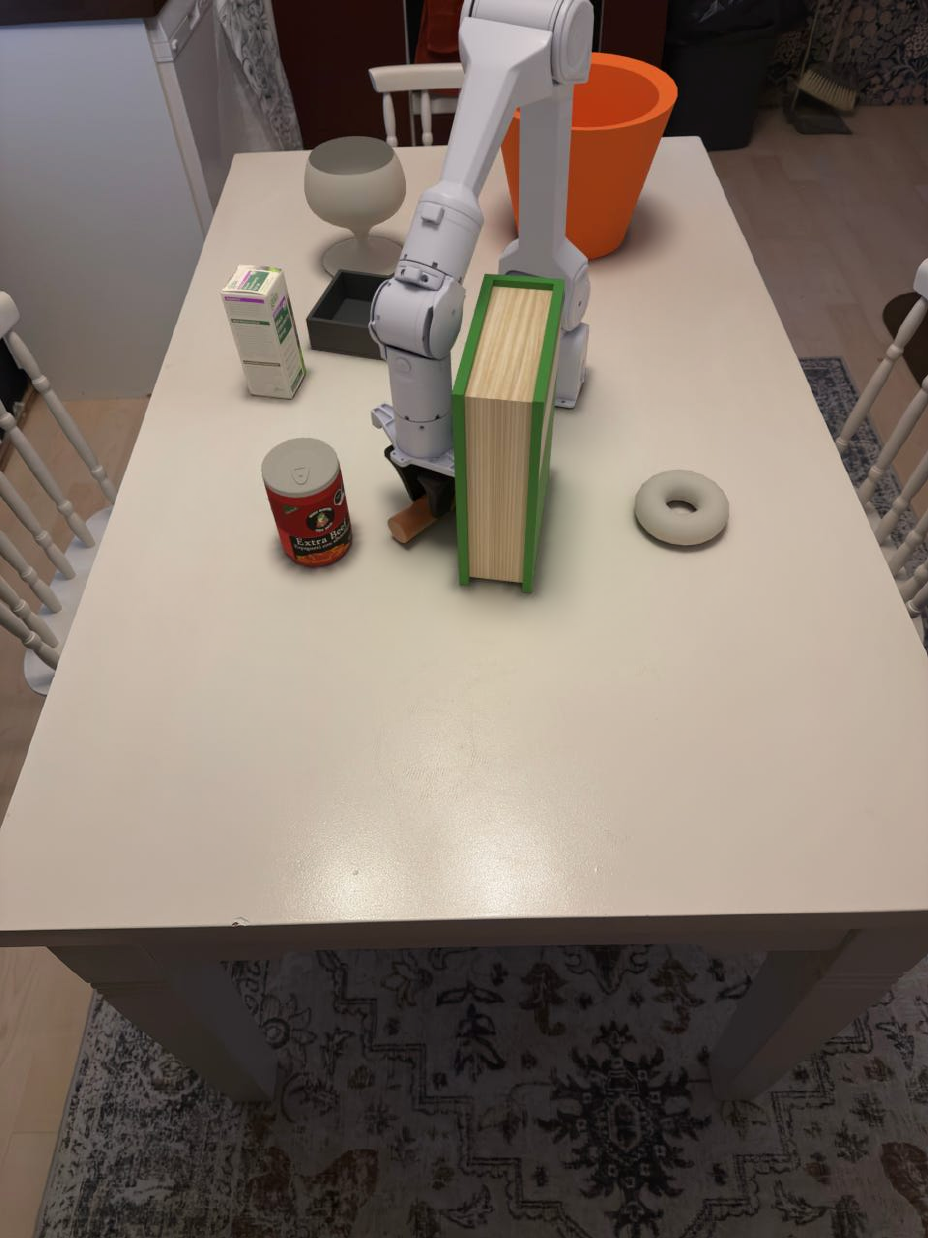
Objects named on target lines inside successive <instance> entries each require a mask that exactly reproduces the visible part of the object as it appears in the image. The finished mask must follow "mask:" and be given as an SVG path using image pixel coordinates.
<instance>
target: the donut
mask: <svg viewBox="0 0 928 1238" xmlns="http://www.w3.org/2000/svg"><path fill="white" fill-rule="evenodd" d="M673 501H681V502H682V501H683V502H686V503H688V504H690V505H692V506H693V507H694V508H695V509H696V510H695V511H693V512H689V513H683V512H678V511H676V510H673V509H672V508H670V507H669V506H668V505H667V503H670V502H673ZM634 512H635V515H636V518H637V521H638V523H639V524H640V525H641V526H642V528H644V530H645V531H646V532H647V533H648V534H650V536H653V537H654V538H655V539H657V540H660V541H662V542H664V543H668V544H671V545H677V546H692V545H700V544H702V543H705V542H707V541H710V540H712V539H714V538H715V537H716V536H717V535H718V534H719V533H720V532H722V531H723V530H724V528H725V527H726V524H727V521H728V520H729V518H730V502H729V500H728V498H727V495H726V493H725V491H724V489H722V487H721V486H720V485H719V484H718V483H717V482H716V481H715V480H713V479H711V478H709V477H707V475H704V474H703V473H700V472H696V471H692V470H688V469H686V470H685V469H671V470H664V471H661V472H659V473H656V474H653V475H652V476H651V477H649V478H647V480H645V481H644V482H643V483H641V485H640V487H639V489H638V490H637V492H636V494H635V497H634Z"/></svg>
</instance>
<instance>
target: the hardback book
mask: <svg viewBox="0 0 928 1238" xmlns="http://www.w3.org/2000/svg"><path fill="white" fill-rule="evenodd" d="M564 285H565V279H554V278H540V277H526V276H512V275H498V273H496V274H495V273H484V275H483V279H482V282H481V286H480V290H479V293H478V296H477V301H476V304H475V306H474V307H475V308H474V311H473V315H472V317H471V322H470V325H469V329H468V332H467V335H466V336H467V337H466V339H465V344H464V347H463V351H462V355H461V357H460V362H459V365H458V369H457V372H456V377H455V379H454V384H453V386H452V418H453V443H454V467H455V492H456V506H455V512H456V514H455V515H456V535H457V536H456V537H457V539H456V540H457V541H456V542H457V562H458V563H457V564H458V585H459V586H467V587H468V586H469V584H470V579H471V578H477V579H478V578H479V579H484V580H485V579H486V580H493V581H494V580H495V581H504V582H513V583H520V584H521V583H522V586H521V587H522V588H521V592H522V593H527V594H532V590H533V589H532V588H533V582H534V577H535V576H534V575H535V570H536V563H537V556H538V550H539V543H540V536H541V529H542V524H543V518H544V517H543V516H544V510H545V503H546V498H547V491H548V483H549V477H550V467H551V456H552V455H551V454H552V443H553V434H554V433H553V431H554V419H555V407H556V406H555V396H556V383H557V371H558V359H559V346H560V334H561V322H562V309H563V297H564Z"/></svg>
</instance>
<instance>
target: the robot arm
mask: <svg viewBox="0 0 928 1238" xmlns="http://www.w3.org/2000/svg"><path fill="white" fill-rule="evenodd" d="M594 21H595V14H594V5H593V4H592V2H591V1H590V0H464V1H463V4H462V8H461V12H460V19H459V28H458V50H459V51H458V53H459V60H460V64H461V68H462V71H463V74H464V77H463V78H464V79H463V82H462V86H461V90H460V93H459V94H460V95H459V98H458V102H457V106H456V110H455V114H454V119H453V123H452V127H451V131H450V135H449V139H448V142H447V146H446V151H445V154H444V159H443V162H442V163H443V164H442V167H441V171H440V175H439V179H438V182H437V183H436V184H435V185H432V186H430V187H429V188H427V189H425V190H424V191H422V192H421V193H420V195H419V198H418V200H417V204H416V206H415V210H414V213H413V216H412V219H411V223H410V225H409V229H408V232H407V234H406V235H407V236H406V238H405V240H404V244H403V247H402V249H403V250H402V253H401V256H400V259H399V262H398V265H397V268H396V271H395V272H394V273H393V276H394V277H393V278H392V279H389V280H386V281H384V282H383V283H382V284H381V285H380V286H379V288H378V289H377V291H376V293H375V296H374V298H373V302H372V306H371V315H370V323H369V325H368V326H369V331H370V334H371V337H372V338H373V340H374V341H375V342H377V343H378V344H379V347H380V353H381V358H383V359H384V360H383V361H385V362H386V363H387V369H388V376H389V377H388V378H389V385H390V395H391V404H390V403H388V402H387V401H384V402H382V403H380V404H379V405H377V406H375V407H373V408H372V409H371V410H370V417H371V422H372V426H373V427H374V428H376V429H378V430H381V429H382V430H383V431H384V433H385V435H386V437H387V438H388V440H389V441H390V443H391V444H390V445H388V446H386V448H385V449H384V451H383V456H384V457H385V459H387V461H389V463H390V464H391V465H392V467H393V468H394V469H395V471H396V473H397V474H398V475H399V478H400V480H401V481H402V483H403V486H404V488H405V491H406V492H407V494H408V497H409V499H410V501H412V503H413V502H414V501H416V500H417V499H418V498H420V497H421V496H423V495H424V494H426V493H427V496H428V500H429V505H430V511H431V513H432V515H433V517H434V518H436V519H437V520H439V519H441V518H442V517H444V516H445V515H446V514H448V513H449V512H450V511H451V510H452V509H451V506H452V502H453V499H454V496H455V493H456V492H455V467H454V443H453V418H452V390H453V375H452V350H453V348H454V346H455V344H456V342H457V341H458V337H459V336H460V335H459V334H460V332H461V329H462V324H463V317H464V303H465V299H466V297H467V296H466V294H467V289H466V288H465V287H464V286H463V284H464V281H465V278H466V275H467V273H468V270H469V266H470V264H471V261H472V258H473V255H474V253H475V249H476V246H477V243H478V241H479V237H480V236H481V232H482V229H483V226H484V223H485V218H484V214H483V211H482V208H481V205H480V202H479V197H480V195H481V192H482V191H483V188H484V186H485V184H486V181H487V179H488V176H489V174H490V172H491V169H492V167H493V165H494V162H495V160H496V158H497V156H498V154H499V150H501V144H502V142H503V139H504V137H505V135H506V132H507V130H508V128H509V125H510V123H511V121H512V118H513V116H514V114H515V111H516V109H517V108H518V107H520V155H519V236H518V238H516V239H514V240H512V241H511V242H510V243H509V244H508V245H507V246H506V248H505V249H504V250H503V251H502V253H501V255H500V257H499V260H498V267H497V274H498V275H512V276H526V277H540V278H554V279H565V285H564V297H563V309H562V322H561V334H560V346H559V359H558V371H557V383H556V396H555V407H561V408H567V409H573V408H575V406H576V405H577V400H578V398H579V394H580V391H581V388H582V384H583V383H584V382H585V378H586V372H587V367H586V364H587V356H588V355H587V354H588V345H589V336H590V324H588V323H585V322H582V320H583V319H584V316H585V314H586V312H587V308H588V305H589V302H590V296H591V282H590V279H589V265H588V263H589V260H588V259H587V258H586V256H585V255H584V254H583V253H582V252H581V251H579V250H578V249H577V248H576V247H575V246H574V245H573V244H572V243H571V242H570V241H569V240H568V239H567V238H566V236H565V228H566V211H567V193H568V176H569V158H570V141H571V124H572V106H573V91H574V84H581V83H586V82H587V81H588V77H589V70H590V65H591V52H592V50H593V38H594V37H593V36H594V24H595V23H594Z"/></svg>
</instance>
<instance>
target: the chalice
mask: <svg viewBox="0 0 928 1238" xmlns="http://www.w3.org/2000/svg"><path fill="white" fill-rule="evenodd" d="M303 179H304V180H303V188H304V189H303V191H304V196H305V200H306V203H307V205H308V207H309V209H310V210H311V211H312V212H313V213H314V214H315V215H316V217H318V218H319V219H320V220H321V221H323V222H325V223H328V224H330V225H332V226H335V227H339V228H343V229H346V230H349V231H350V232H351V233H352V234H353V236H354V237H353V238H349V239H346V240H342V241H340V242H338V243H336V244H335V245H333V246H332V247H331V248H330V249H328V250H327V252H326V253H325V254H324V256H323V261H322V264H323V267H324V269H325V270H326V271H327V272H328V273H329V274H330V275H331V276H333V277H334V276H335V275H336V273H337V272H338V270H339V269H343V270H351V271H358V272H365V273H373V274H380V275H388V276H392V275H394V274H395V271H396V268H397V265H398V262H399V259H400V256H401V253H402V250H403V247H401V246H400V245H399V244H397V243H396V242H395V241H392V240H390V239H388V238H384V237H380V236H379V237H378V236H369V233H370V231H371V230H372V229H373V227H375V226H378V225H379V224H382V223H384V222H386V221H387V220H389V219H391V218H393V216H394V215H395V214H397V213H398V212H399V210H400V209H401V207H402V206H403V204H404V202H405V200H406V195H407V180H406V175H405V171H404V168H403V164H402V163H401V160H400V158H399V156H398V154H397V153H396V151H395V149H394V148H393V147H392V145H390V144H389V142H386V141H384V140H382V139H379V138H375V137H372V136H363V135H362V136H361V135H360V136H359V135H355V136H354V135H353V136H342V137H337V138H334V139H330V140H327V141H325V142H322V143H321V144H318V145H317V146H315V147H314V148H313V149H312V150H311V151H310V153H309V155H308V156H307V160H306V163H305V169H304V178H303Z"/></svg>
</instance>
